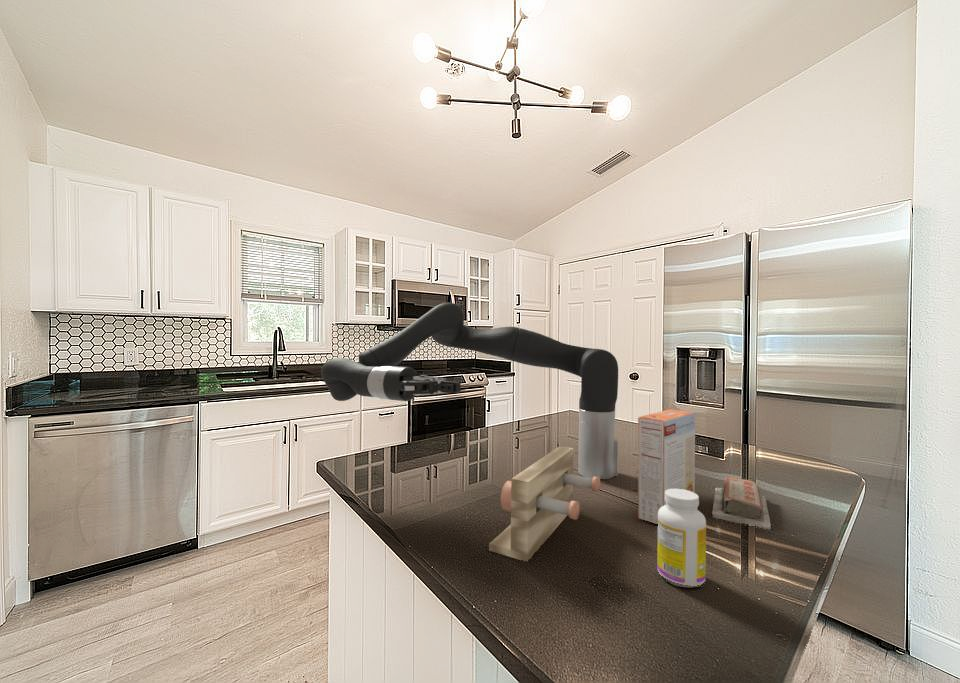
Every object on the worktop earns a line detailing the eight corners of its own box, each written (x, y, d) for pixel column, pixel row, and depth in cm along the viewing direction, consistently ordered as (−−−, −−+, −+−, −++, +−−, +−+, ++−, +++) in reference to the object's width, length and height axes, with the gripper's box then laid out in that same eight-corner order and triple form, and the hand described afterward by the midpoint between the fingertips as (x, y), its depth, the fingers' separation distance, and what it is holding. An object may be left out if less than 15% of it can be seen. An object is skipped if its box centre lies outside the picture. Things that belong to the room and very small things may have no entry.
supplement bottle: (694, 567, 66) (696, 487, 66) (713, 592, 60) (715, 503, 60) (651, 564, 67) (652, 485, 67) (665, 589, 61) (666, 501, 60)
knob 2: (531, 488, 85) (532, 464, 85) (540, 481, 89) (541, 458, 89) (595, 501, 78) (595, 475, 78) (601, 493, 83) (602, 468, 83)
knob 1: (500, 514, 72) (500, 485, 72) (512, 504, 77) (512, 477, 77) (572, 532, 66) (572, 500, 66) (581, 520, 70) (581, 490, 70)
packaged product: (715, 472, 100) (765, 480, 95) (714, 492, 100) (765, 501, 95) (712, 497, 84) (772, 508, 79) (711, 520, 85) (771, 533, 79)
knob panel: (489, 550, 71) (490, 474, 71) (541, 502, 92) (542, 443, 91) (527, 562, 67) (528, 481, 67) (572, 509, 88) (573, 448, 88)
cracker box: (667, 501, 93) (669, 407, 93) (695, 510, 88) (697, 411, 88) (635, 518, 84) (636, 415, 84) (664, 529, 79) (666, 420, 79)
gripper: (372, 368, 88) (440, 371, 80) (411, 364, 99) (474, 367, 91) (372, 403, 88) (440, 410, 80) (411, 396, 100) (474, 401, 91)
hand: (458, 387), depth 85 cm, fingers closed
